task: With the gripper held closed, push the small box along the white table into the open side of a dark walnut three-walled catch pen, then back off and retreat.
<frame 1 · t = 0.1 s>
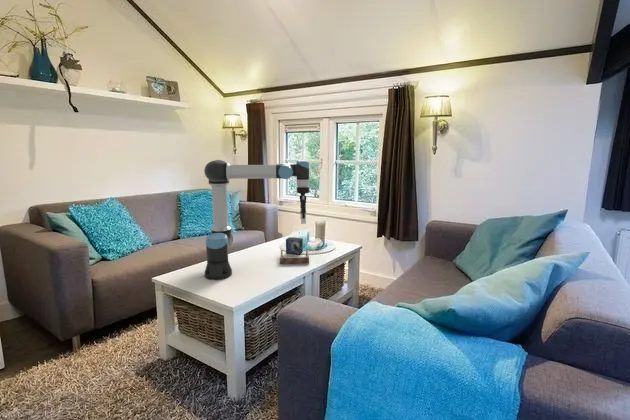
hand: (303, 221, 207), 28 cm above the table, fingers open, 13 cm apart
small box: (294, 253, 236), on the table
catch pen: (294, 259, 223), on the table
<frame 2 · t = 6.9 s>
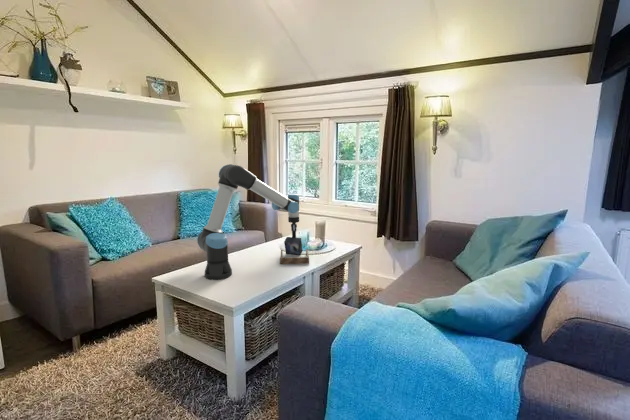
hand: (294, 249, 239), 2 cm above the table, fingers closed
small box: (294, 252, 234), point 1 cm above the table, touching gripper, hand
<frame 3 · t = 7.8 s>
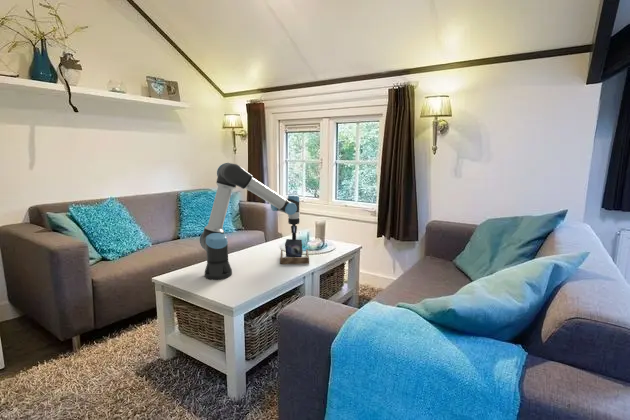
hand: (294, 251, 233), 2 cm above the table, fingers closed
small box: (294, 254, 230), point 1 cm above the table, touching gripper
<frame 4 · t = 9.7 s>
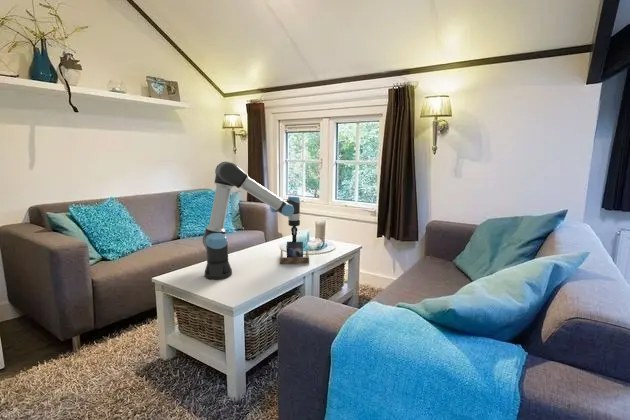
hand: (294, 253, 228), 2 cm above the table, fingers closed
small box: (295, 257, 224), point 1 cm above the table, touching gripper, hand
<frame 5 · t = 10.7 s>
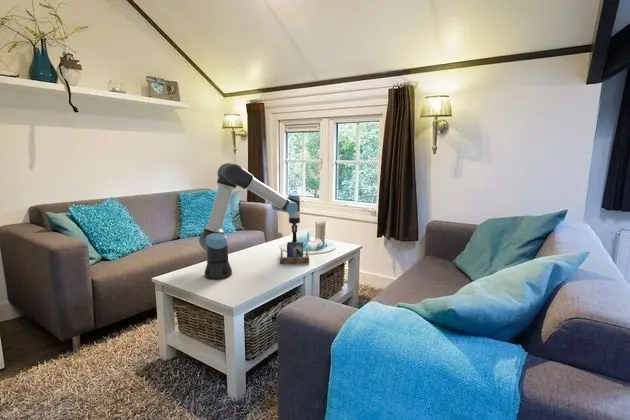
hand: (294, 250, 234), 2 cm above the table, fingers closed
small box: (295, 258, 225), on the table
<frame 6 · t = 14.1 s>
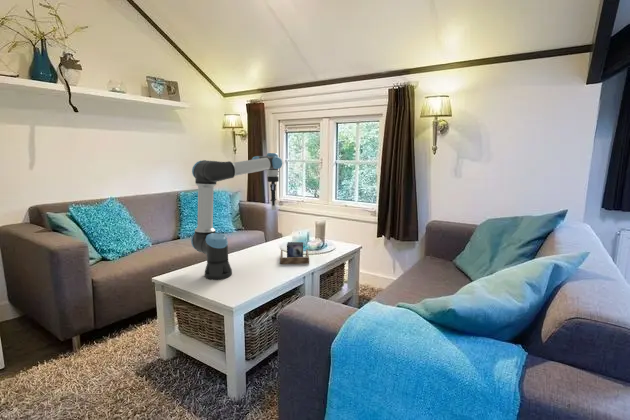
hand: (273, 209, 236), 29 cm above the table, fingers closed
nothing on the table moved.
at the end: small box inside the target area (2.8 cm from its centre), on the table; small box moved 11.5 cm from its start; the gripper is holding nothing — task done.
